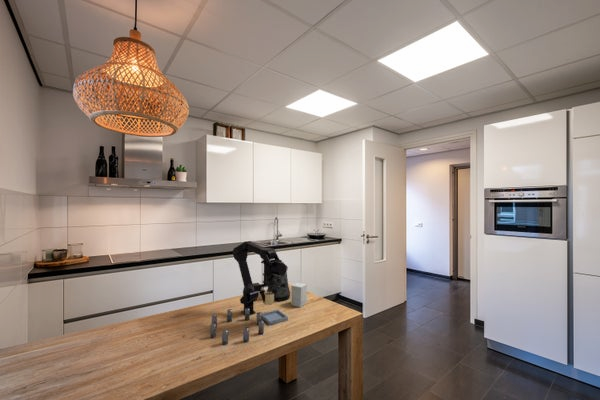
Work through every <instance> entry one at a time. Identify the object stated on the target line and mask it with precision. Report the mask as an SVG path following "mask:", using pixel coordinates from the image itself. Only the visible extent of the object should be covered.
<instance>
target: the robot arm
mask: <svg viewBox="0 0 600 400" xmlns="http://www.w3.org/2000/svg"><path fill="white" fill-rule="evenodd" d="M249 251H250V252H252V253H254V254H257V255H259V257H260V258H261V259H262V261H261V262H260V263H261V264H263V272H262V276H263V280H262V284H261V283H259V282H254V283H253V281H252V280H253V279H252V276H251V273H250V268H249V265H248V261H247V259H248V255H249V254H248V252H249ZM231 252H232V256H233V259H234V260H235V261H236V262H237V264H238V267H239V271H240V275H241V280H242V283H243V289H242V296H241V298H239V302H240V304H241V305H243V310H241V311H240V312H241V313H242V314H243V315H244V316H245V308H250V315H253V314H257V312H256V311H255V310H254V306H255V305H254V302H257V300H258V298H259V294H260V296H261V300H262V303H263V302H264V301H265V294H264V293H265V292H266V290H265V288H268V287H269V289H270V290H272V292H273V293H274V298H275V295H276V293H277V291H278V290H279V289H281V287H285V286H286V282H285V281H284V280H282V279H276V278H275V274H277V275H280V276H283V275H284V274H285V273H286V266H287V265H286V264H285V263H284V262H283V261H282V262H280V260H281V259H280V257H279V256H278V253H277V251H276V249H274V248H271V247H263V246H261V245H258V244H256V243H254V242H252V241H251V240H250V241H249V240H247V241H244V242H241V244H239V245H237V246H236V247H234V248H233V250H232V251H231ZM284 264H285V265H286V266H285V265H284ZM280 286H281V287H280Z"/></svg>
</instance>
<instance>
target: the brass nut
mask: <svg viewBox="0 0 600 400" xmlns="http://www.w3.org/2000/svg"><path fill="white" fill-rule="evenodd" d="M264 294H265V301H264V302H263V301H262V303H263V304H264V305H265V306H266V305H268V306H269V305H273V304H274V303H275V302H274V293H273V292H267V291H265V293H264Z"/></svg>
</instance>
